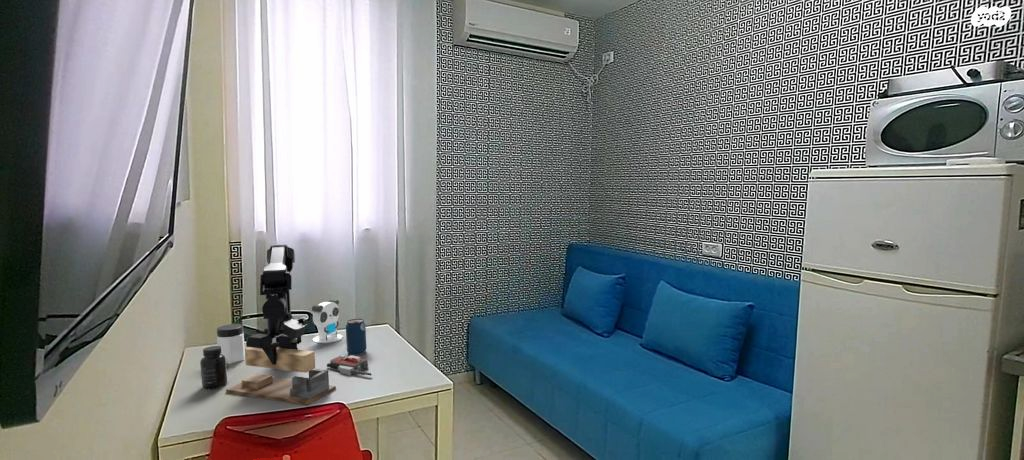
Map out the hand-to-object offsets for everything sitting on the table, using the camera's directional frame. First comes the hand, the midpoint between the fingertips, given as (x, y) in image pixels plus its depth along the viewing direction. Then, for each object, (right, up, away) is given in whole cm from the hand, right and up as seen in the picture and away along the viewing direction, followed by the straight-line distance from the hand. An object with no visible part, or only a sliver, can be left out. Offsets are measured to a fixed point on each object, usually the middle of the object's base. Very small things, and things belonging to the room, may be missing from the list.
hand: (279, 362), depth 153 cm
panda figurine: (-5, -5, +53) cm, 54 cm away
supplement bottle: (-23, -9, +5) cm, 25 cm away
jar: (-30, -7, +29) cm, 43 cm away
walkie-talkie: (+17, -8, +18) cm, 26 cm away
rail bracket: (0, -9, +1) cm, 9 cm away
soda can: (+12, -6, +36) cm, 38 cm away
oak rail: (0, -1, 0) cm, 1 cm away
